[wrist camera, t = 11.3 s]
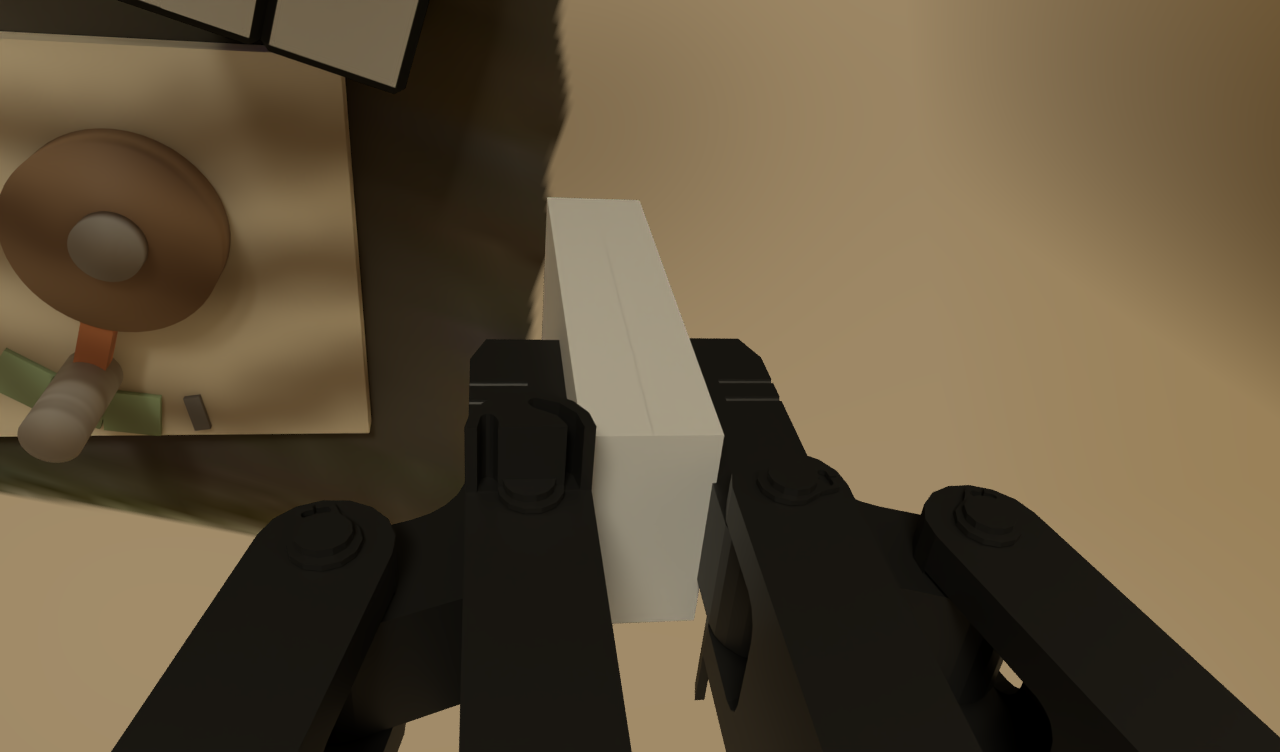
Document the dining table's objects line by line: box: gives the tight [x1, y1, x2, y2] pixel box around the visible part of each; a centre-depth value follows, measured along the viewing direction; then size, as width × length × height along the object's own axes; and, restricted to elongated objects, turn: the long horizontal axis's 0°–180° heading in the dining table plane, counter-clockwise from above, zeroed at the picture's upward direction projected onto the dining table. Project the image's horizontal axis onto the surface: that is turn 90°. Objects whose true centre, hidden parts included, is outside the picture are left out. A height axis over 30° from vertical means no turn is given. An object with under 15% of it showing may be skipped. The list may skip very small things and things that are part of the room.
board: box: [0, 31, 371, 437], centre depth 45 cm, size 20×22×2 cm
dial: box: [0, 128, 231, 463], centre depth 42 cm, size 14×9×6 cm, turn 156°
